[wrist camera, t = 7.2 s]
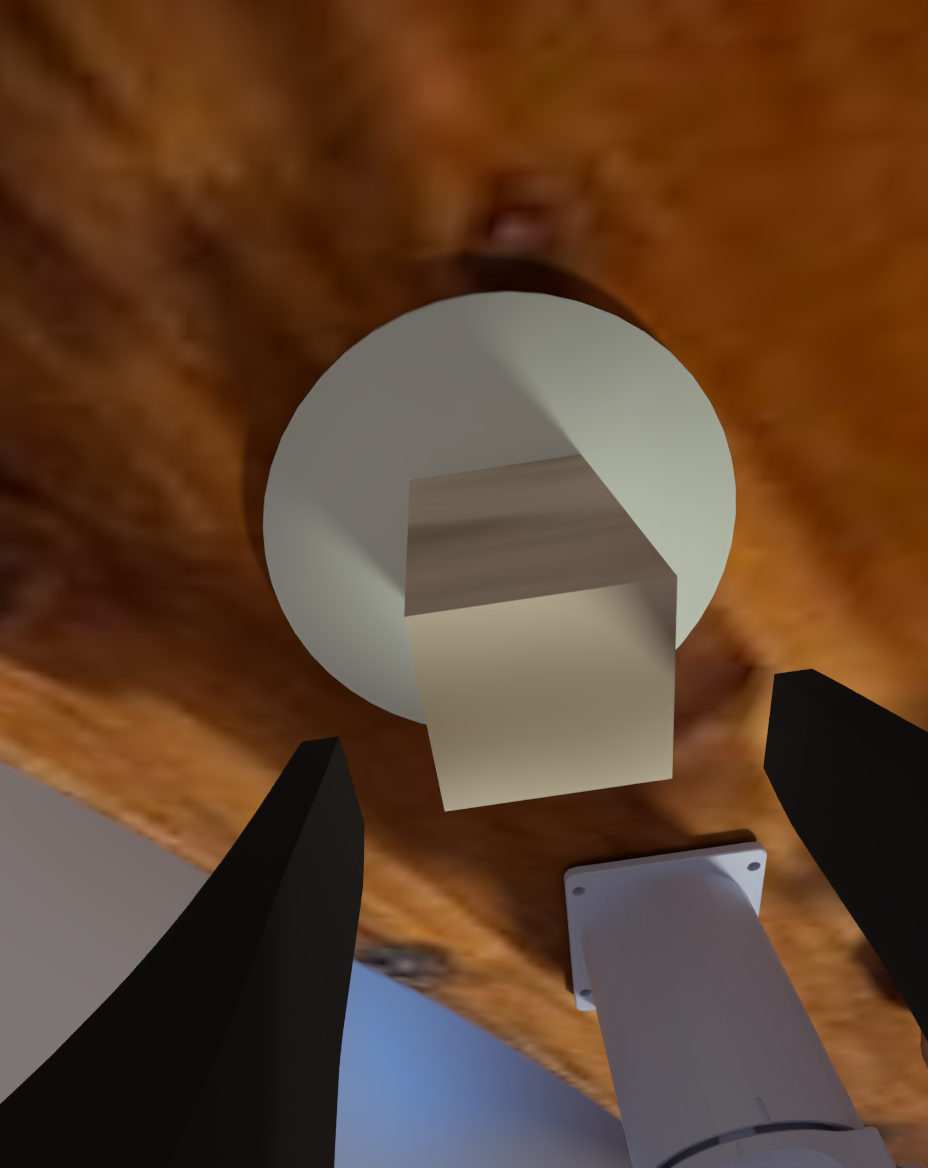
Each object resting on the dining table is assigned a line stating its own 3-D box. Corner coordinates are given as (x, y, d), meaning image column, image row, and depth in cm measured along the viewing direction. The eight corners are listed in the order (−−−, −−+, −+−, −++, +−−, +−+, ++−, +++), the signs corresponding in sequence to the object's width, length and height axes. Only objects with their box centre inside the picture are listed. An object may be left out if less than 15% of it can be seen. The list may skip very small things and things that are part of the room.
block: (588, 603, 19) (671, 778, 12) (436, 625, 19) (444, 811, 13) (581, 453, 17) (677, 576, 10) (409, 479, 17) (404, 616, 10)
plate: (709, 682, 22) (721, 701, 21) (329, 737, 22) (325, 758, 21) (735, 253, 15) (755, 254, 15) (208, 331, 16) (195, 336, 15)
